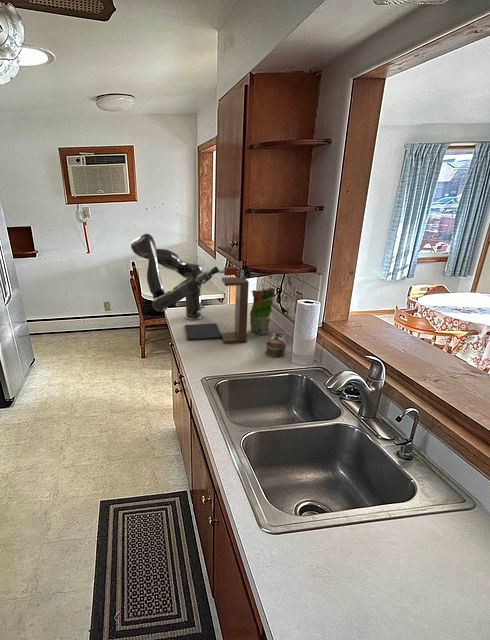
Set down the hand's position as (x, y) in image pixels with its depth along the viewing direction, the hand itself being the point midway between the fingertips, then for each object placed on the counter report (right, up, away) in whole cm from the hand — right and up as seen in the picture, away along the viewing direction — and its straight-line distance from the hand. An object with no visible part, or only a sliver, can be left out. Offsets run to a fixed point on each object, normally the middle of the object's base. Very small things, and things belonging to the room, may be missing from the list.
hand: (217, 268), depth 193 cm
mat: (-6, -30, +27) cm, 40 cm away
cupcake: (+28, -42, -3) cm, 51 cm away
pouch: (+26, -30, +24) cm, 47 cm away
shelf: (+10, -34, +16) cm, 39 cm away
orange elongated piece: (+2, -3, +1) cm, 4 cm away
